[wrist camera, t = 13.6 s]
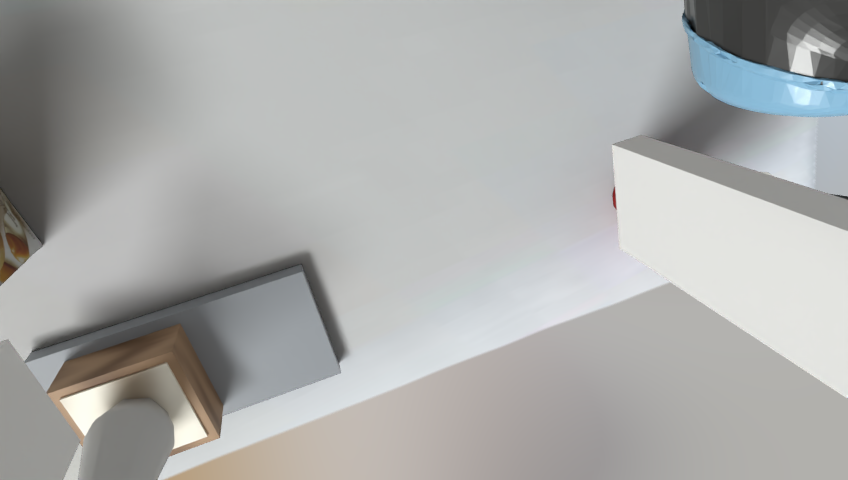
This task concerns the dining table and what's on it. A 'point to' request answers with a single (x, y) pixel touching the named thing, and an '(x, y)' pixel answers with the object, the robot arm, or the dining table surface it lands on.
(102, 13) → the dining table surface
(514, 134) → the dining table surface
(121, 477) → the salt shaker
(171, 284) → the dining table surface
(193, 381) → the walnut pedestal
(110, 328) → the build plate
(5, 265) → the coffee box
